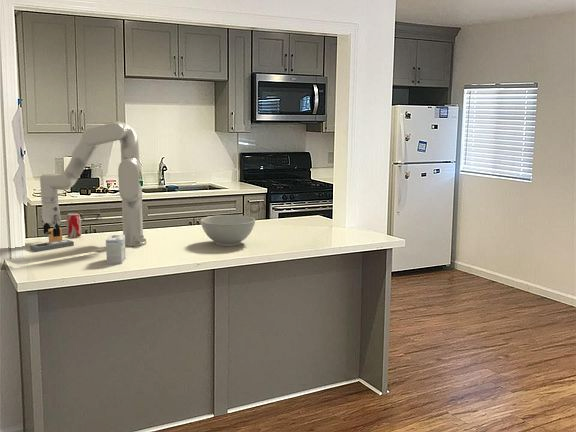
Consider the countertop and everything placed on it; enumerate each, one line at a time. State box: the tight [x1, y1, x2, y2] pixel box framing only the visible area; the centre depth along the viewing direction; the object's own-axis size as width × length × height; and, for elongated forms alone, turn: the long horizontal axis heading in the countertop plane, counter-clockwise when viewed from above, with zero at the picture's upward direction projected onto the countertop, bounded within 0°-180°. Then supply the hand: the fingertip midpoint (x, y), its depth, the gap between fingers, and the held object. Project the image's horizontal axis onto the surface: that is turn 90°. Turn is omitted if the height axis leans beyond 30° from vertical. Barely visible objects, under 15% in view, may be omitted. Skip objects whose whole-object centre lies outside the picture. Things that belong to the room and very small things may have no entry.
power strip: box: [29, 239, 75, 253], centre depth 305 cm, size 7×18×4 cm, turn 136°
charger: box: [45, 228, 63, 242], centre depth 315 cm, size 4×7×8 cm, turn 137°
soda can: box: [65, 212, 82, 239], centre depth 335 cm, size 7×7×12 cm
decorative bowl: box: [200, 214, 256, 247], centre depth 320 cm, size 27×27×12 cm
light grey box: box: [105, 234, 127, 265], centre depth 285 cm, size 11×7×11 cm, turn 5°
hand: (51, 234), depth 314 cm, fingers open, 9 cm apart
